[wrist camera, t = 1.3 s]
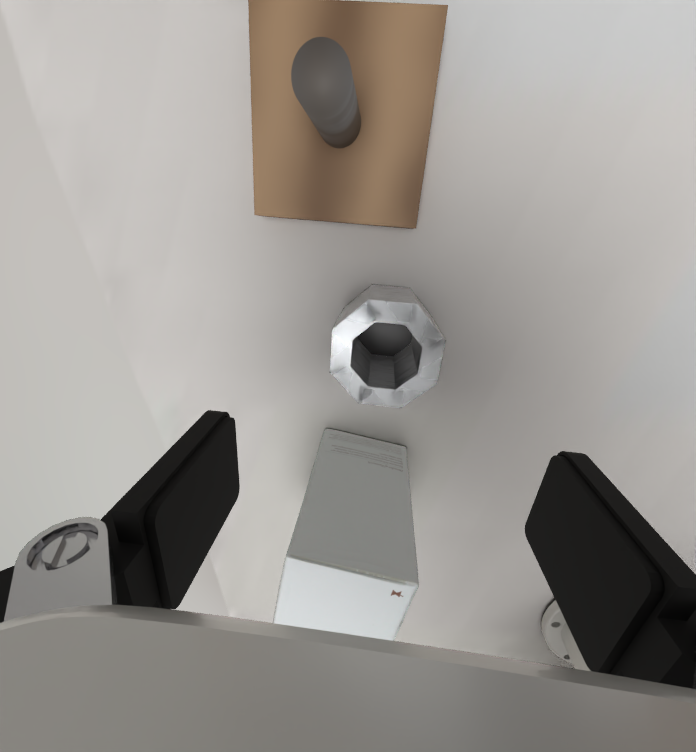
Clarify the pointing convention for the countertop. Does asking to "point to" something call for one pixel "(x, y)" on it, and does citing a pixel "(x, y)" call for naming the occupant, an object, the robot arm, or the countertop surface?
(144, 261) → the countertop surface
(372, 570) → the supplement box
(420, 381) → the hub
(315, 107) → the shaft block
